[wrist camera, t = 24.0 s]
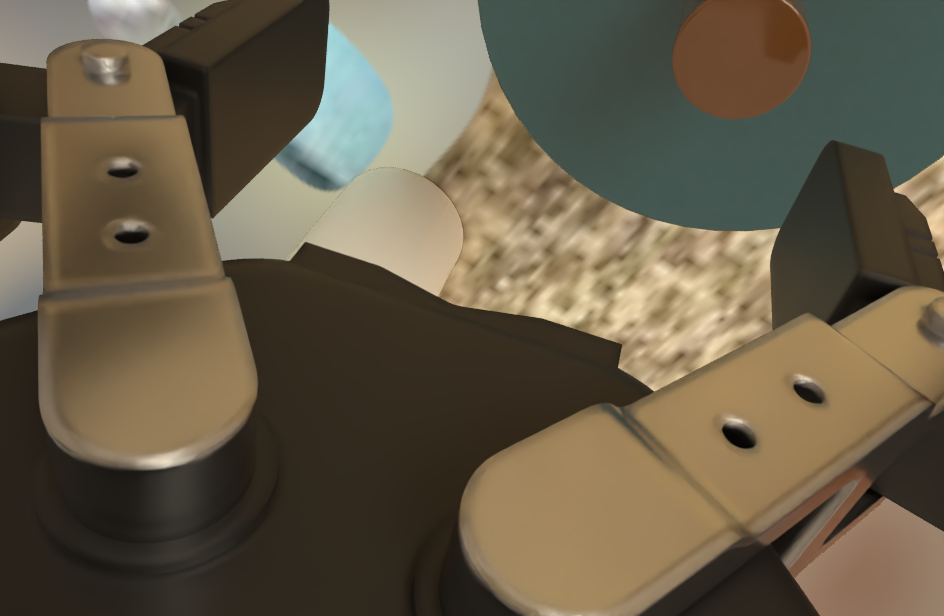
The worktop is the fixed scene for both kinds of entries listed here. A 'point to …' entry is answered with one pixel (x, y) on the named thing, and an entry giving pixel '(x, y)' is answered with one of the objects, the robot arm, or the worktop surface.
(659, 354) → the worktop surface
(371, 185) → the cylindrical container
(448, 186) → the worktop surface
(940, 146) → the lid
